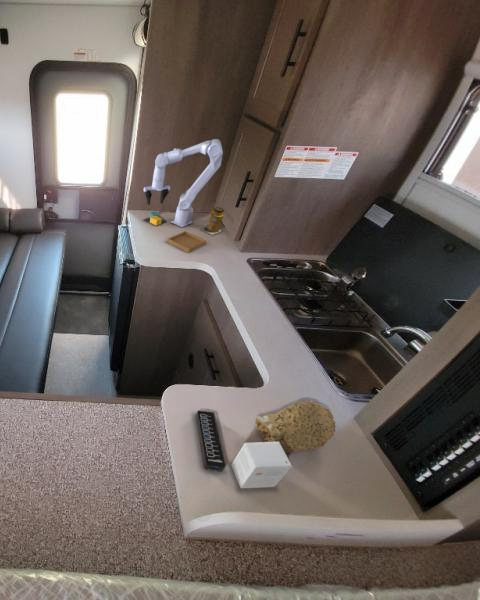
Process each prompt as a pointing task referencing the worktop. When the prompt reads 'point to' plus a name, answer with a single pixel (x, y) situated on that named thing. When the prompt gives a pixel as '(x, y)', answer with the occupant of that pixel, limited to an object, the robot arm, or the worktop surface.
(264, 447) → the small box
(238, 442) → the worktop surface
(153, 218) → the block
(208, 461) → the tool bit set
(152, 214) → the packet teal
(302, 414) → the sponge
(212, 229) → the condiment
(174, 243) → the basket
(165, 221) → the mat
